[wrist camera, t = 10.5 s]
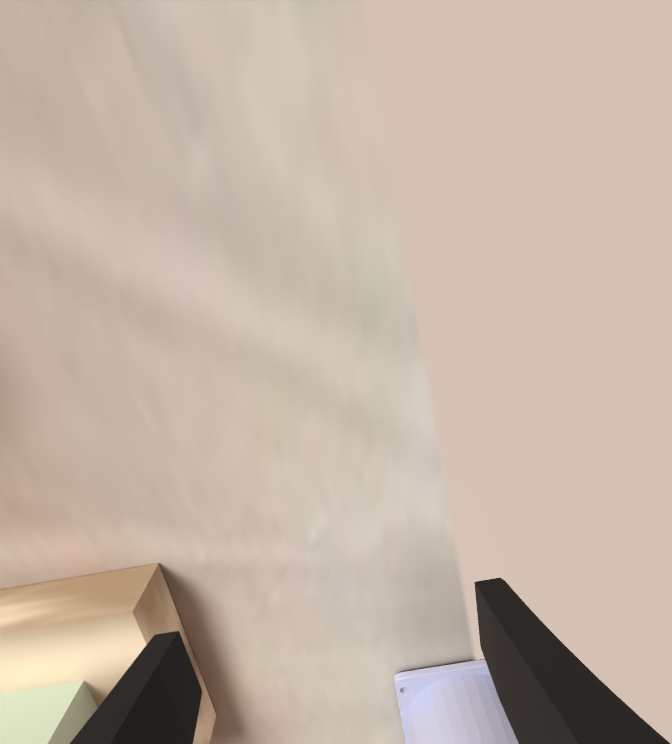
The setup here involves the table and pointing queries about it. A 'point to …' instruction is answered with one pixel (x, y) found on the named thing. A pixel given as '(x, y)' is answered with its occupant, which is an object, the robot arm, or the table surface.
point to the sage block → (45, 714)
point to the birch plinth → (89, 633)
